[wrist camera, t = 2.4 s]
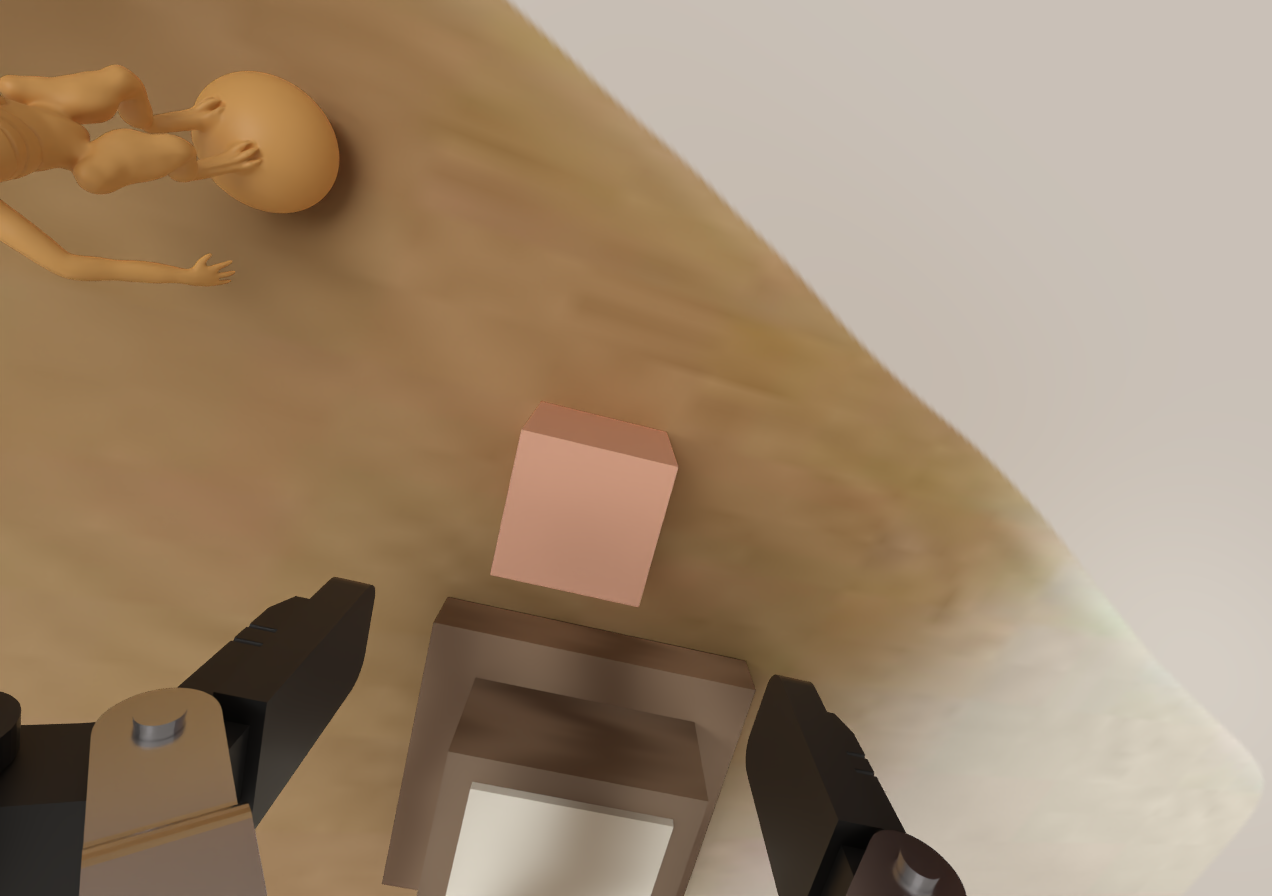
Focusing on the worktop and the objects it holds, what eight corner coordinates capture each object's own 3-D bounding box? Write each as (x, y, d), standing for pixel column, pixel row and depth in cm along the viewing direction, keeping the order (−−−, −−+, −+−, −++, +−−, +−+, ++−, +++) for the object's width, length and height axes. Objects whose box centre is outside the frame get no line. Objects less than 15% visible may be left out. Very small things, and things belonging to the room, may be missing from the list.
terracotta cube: (515, 519, 25) (490, 574, 20) (541, 400, 24) (521, 429, 19) (635, 546, 25) (638, 607, 20) (666, 431, 24) (678, 467, 19)
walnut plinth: (398, 843, 28) (337, 995, 22) (447, 597, 25) (393, 694, 19) (667, 891, 30) (679, 1047, 23) (745, 661, 26) (783, 771, 20)
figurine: (422, 229, 22) (199, 160, 10) (295, 326, 22) (-52, 365, 11) (259, 7, 20) (-242, -389, 8) (126, 120, 21) (-508, -98, 9)
